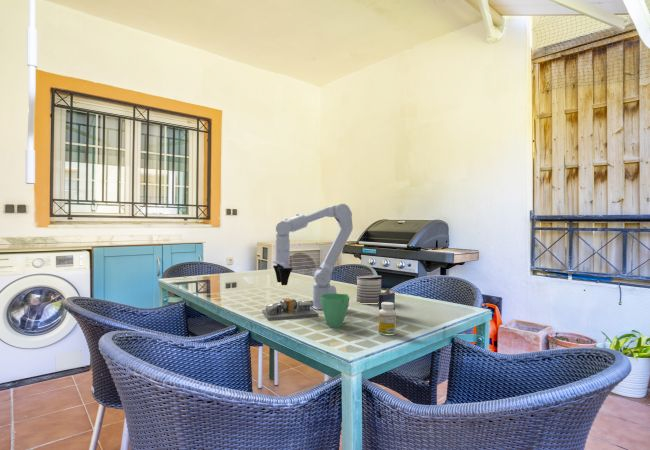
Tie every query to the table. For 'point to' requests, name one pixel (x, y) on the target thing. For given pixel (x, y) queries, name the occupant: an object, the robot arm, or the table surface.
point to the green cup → (335, 308)
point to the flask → (387, 298)
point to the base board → (291, 314)
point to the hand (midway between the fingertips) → (282, 283)
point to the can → (368, 289)
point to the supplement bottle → (387, 318)
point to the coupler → (288, 305)
